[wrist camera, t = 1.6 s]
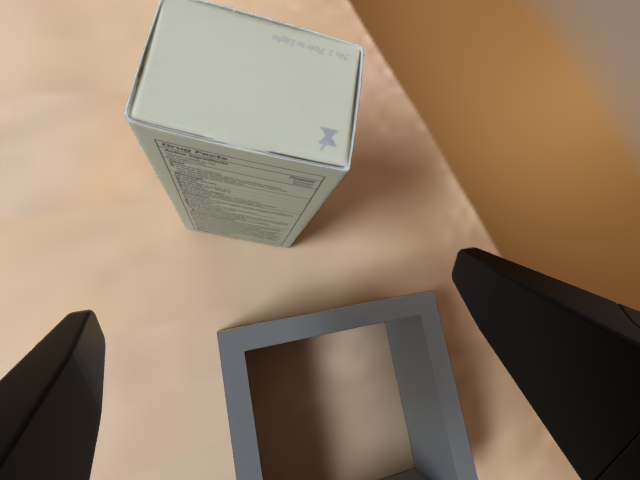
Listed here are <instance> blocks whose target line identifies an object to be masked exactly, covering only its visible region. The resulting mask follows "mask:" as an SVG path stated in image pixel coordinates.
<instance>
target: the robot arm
mask: <svg viewBox="0 0 640 480" xmlns="http://www.w3.org/2000/svg"><path fill="white" fill-rule="evenodd" d="M452 279H453V282H454V284H455V286H456V287H457V289H458V291H459V293H460V295H461V297H462V299H463V300H464V302H465V304H466V306H467V308H468V310H469V311H470V313H471V315H472V317H473V319H474V321H475V322H476V324H477V326H478V327H479V329H480V331H481V332H482V334H483V335H484V337H485V338H486V340H487V341H488V343H489V344H490V346H491V347H492V348H493V350H494V351H495V353H496V354H497V356H498V357H499V359H500V360H501V362H502V363H503V365H504V366H505V368H506V369H507V371H508V372H509V374H510V375H511V377H512V378H513V379H514V381H515V382H516V384H517V385H518V387H519V388H520V390H521V391H522V393H523V394H524V396H525V397H526V399H527V400H528V402H529V403H530V405H531V406H532V408H533V409H534V410H535V412H536V413H537V415H538V416H539V418H540V419H541V421H542V422H543V424H544V425H545V427H546V428H547V430H548V431H549V433H550V434H551V436H552V437H553V438H554V440H555V441H556V443H557V444H558V446H559V447H560V449H561V450H562V452H563V453H564V455H565V456H566V458H567V459H568V461H569V462H570V464H571V465H572V467H573V468H574V469H575V471H576V472H577V474H578V475H579V477H580V478H581V480H640V312H639V311H637V310H634V309H631V308H629V307H626V306H624V305H621V304H616V303H615V302H613V301H611V300H608V299H606V298H603V297H600V296H597V295H595V294H593V293H590V292H588V291H585V290H583V289H580V288H577V287H575V286H572V285H570V284H567V283H565V282H562V281H560V280H557V279H555V278H552V277H549V276H546V275H544V274H542V273H539V272H537V271H534V270H532V269H529V268H526V267H524V266H521V265H519V264H516V263H514V262H511V261H508V260H506V259H504V258H501V257H498V256H496V255H493V254H491V253H488V252H486V251H483V250H481V249H478V248H475V247H471V248H465V249H461V250H460V251H459V252H458V254H457V257H456V261H455V264H454V267H453V271H452ZM104 362H105V338H104V335H103V332H102V330H101V327H100V325H99V322H98V320H97V318H96V315H95V313H94V312H93V311H92V310H84V311H77V312H72V313H70V314H68V315H67V316H66V317H65V318H64V319H63V320H62V321H61V322H60V323H59V324H58V325H57V326H55V327H54V328H53V329H52V330H51V331H50V332H49V333H48V334H47V335H46V336H45V337H44V338H43V339H42V340H41V341H40V342H39V343H38V344H37V345H36V346H35V347H34V348H33V349H32V350H31V351H30V352H29V353H28V354H27V355H26V356H25V357H24V358H23V359H22V360H21V361H20V362H19V363H18V364H17V365H15V366H14V367H13V368H12V369H11V370H10V371H9V372H8V373H7V374H6V375H5V376H4V377H3V378H2V379H1V380H0V480H89V479H90V474H91V468H92V463H93V458H94V452H95V447H96V442H97V436H98V431H99V425H100V419H101V412H102V398H103V380H104Z"/></svg>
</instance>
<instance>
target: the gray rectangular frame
mask: <svg viewBox="0 0 640 480" xmlns="http://www.w3.org/2000/svg"><path fill="white" fill-rule="evenodd" d="M381 322H385V325H386V330H387V335H388V339H389V344H390V349H391V354H392V358H393V363H394V368H395V373H396V377H397V382H398V387H399V392H400V396H401V401H402V406H403V411H404V415H405V420H406V425H407V430H408V435H409V439H410V444H411V449H412V454H413V458H414V463H415V468H414V469H411V470H408V471H405V472H402V473H399V474H396V475H393V476H390V477H387V478H384V479H381V480H478V478H477V474H476V469H475V465H474V461H473V457H472V452H471V448H470V444H469V440H468V435H467V431H466V427H465V423H464V418H463V414H462V410H461V406H460V401H459V397H458V393H457V389H456V384H455V380H454V376H453V372H452V367H451V363H450V359H449V355H448V350H447V346H446V342H445V338H444V333H443V329H442V325H441V321H440V316H439V312H438V308H437V304H436V299H435V295H434V291H428V292H421V293H415V294H409V295H403V296H397V297H391V298H386V299H381V300H376V301H370V302H365V303H360V304H355V305H349V306H344V307H339V308H334V309H328V310H323V311H318V312H313V313H307V314H302V315H297V316H292V317H287V318H281V319H276V320H271V321H266V322H260V323H255V324H250V325H245V326H239V327H234V328H229V329H224V330H219V331H218V332H217V337H218V344H219V352H220V359H221V367H222V374H223V382H224V389H225V397H226V404H227V412H228V419H229V427H230V434H231V442H232V449H233V457H234V464H235V472H236V479H237V480H263V478H262V471H261V465H260V458H259V451H258V444H257V437H256V430H255V423H254V416H253V409H252V402H251V395H250V388H249V382H248V375H247V368H246V361H245V354H244V351H247V350H252V349H257V348H262V347H267V346H271V345H276V344H281V343H286V342H290V341H295V340H300V339H305V338H310V337H314V336H319V335H324V334H329V333H334V332H338V331H343V330H348V329H353V328H357V327H362V326H367V325H372V324H377V323H381Z"/></svg>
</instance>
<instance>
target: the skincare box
mask: <svg viewBox="0 0 640 480" xmlns="http://www.w3.org/2000/svg"><path fill="white" fill-rule="evenodd" d="M363 57H364V51H363V48H362V47H361V46H359V45H356V44H353V43H350V42H346V41H344V40H341V39H337V38H334V37H332V36H329V35H325V34H322V33H318V32H315V31H312V30H308V29H305V28H301V27H298V26H295V25H292V24H288V23H285V22H281V21H278V20H275V19H270V18H267V17H263V16H260V15H257V14H254V13H249V12H246V11H242V10H239V9H235V8H232V7H229V6H225V5H221V4H217V3H213V2H210V1H207V0H160V2H159V5H158V9H157V11H156V14H155V17H154V20H153V23H152V26H151V29H150V32H149V35H148V38H147V41H146V44H145V47H144V50H143V54H142V57H141V60H140V63H139V66H138V69H137V72H136V75H135V78H134V82H133V85H132V89H131V92H130V95H129V99H128V102H127V105H126V109H125V113H124V115H125V119H126V120H127V122H128V124H129V126H130V127H131V129H132V131H133V133H134V134H135V136H136V138H137V140H138V142H139V144H140V146H141V147H142V149H143V151H144V153H145V154H146V156H147V158H148V160H149V162H150V164H151V166H152V167H153V169H154V171H155V173H156V175H157V177H158V179H159V180H160V182H161V184H162V186H163V188H164V189H165V191H166V193H167V195H168V197H169V198H170V200H171V202H172V204H173V206H174V208H175V210H176V211H177V213H178V215H179V217H180V219H181V221H182V222H183V224H184V226H185V227H186V228H187V229H190V230H195V231H199V232H204V233H209V234H213V235H218V236H224V237H229V238H233V239H239V240H244V241H249V242H255V243H261V244H266V245H272V246H278V247H284V248H289V247H290V246H291V245H292V244H293V243H294V241H295V240H296V239H297V237H298V236H299V235H300V233H301V232H302V231H303V229H304V228H305V227H306V226H307V224H308V223H309V222H310V220H311V219H312V218H313V217H314V215H315V214H316V213H317V212H318V210H319V209H320V208H321V206H322V205H323V204H324V202H325V201H326V200H327V198H328V197H329V196H330V195H331V193H332V192H333V191H334V189H335V188H336V187H337V186H338V184H339V183H340V182H341V181H342V179H343V178H344V177H345V176H346V174H347V173H348V172H349V170H350V164H351V156H352V151H353V143H354V136H355V130H356V123H357V114H358V106H359V98H360V92H361V81H362V68H363Z"/></svg>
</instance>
